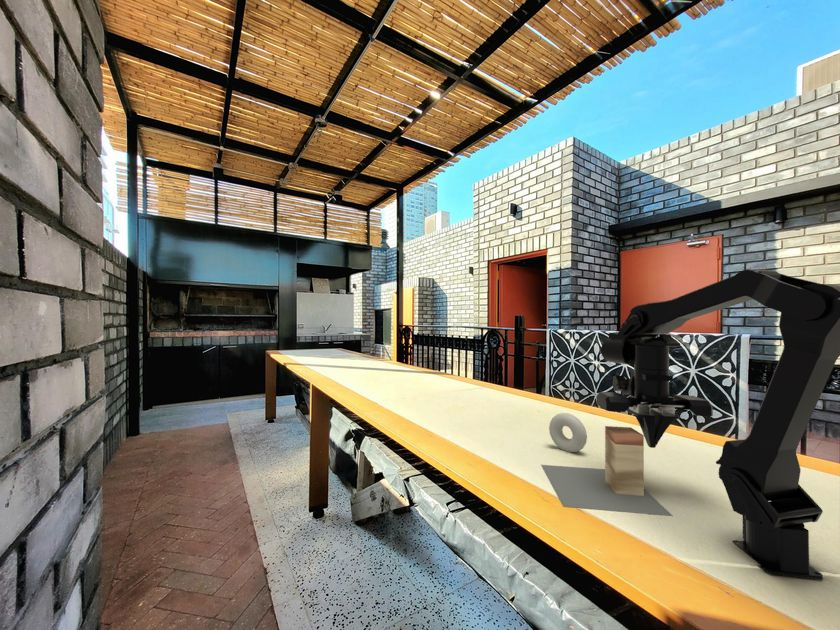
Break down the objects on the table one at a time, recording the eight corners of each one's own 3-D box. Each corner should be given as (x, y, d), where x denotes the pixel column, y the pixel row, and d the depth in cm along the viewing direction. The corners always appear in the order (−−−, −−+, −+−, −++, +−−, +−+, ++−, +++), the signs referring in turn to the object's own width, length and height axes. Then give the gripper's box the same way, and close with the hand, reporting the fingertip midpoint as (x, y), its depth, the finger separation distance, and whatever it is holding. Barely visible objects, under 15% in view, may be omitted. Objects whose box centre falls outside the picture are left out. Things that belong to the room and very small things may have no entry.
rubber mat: (673, 519, 57) (673, 516, 57) (563, 509, 60) (563, 506, 60) (624, 472, 75) (624, 470, 75) (540, 466, 77) (540, 464, 77)
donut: (546, 447, 90) (546, 410, 90) (553, 444, 92) (553, 408, 92) (582, 459, 82) (582, 418, 82) (589, 456, 84) (589, 416, 84)
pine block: (643, 495, 64) (643, 435, 64) (615, 493, 64) (615, 433, 65) (631, 483, 69) (630, 427, 69) (605, 481, 69) (605, 426, 70)
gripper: (677, 364, 73) (677, 436, 73) (587, 362, 76) (587, 431, 75) (714, 372, 62) (715, 456, 62) (607, 368, 65) (607, 449, 64)
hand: (651, 447), depth 66 cm, fingers closed
